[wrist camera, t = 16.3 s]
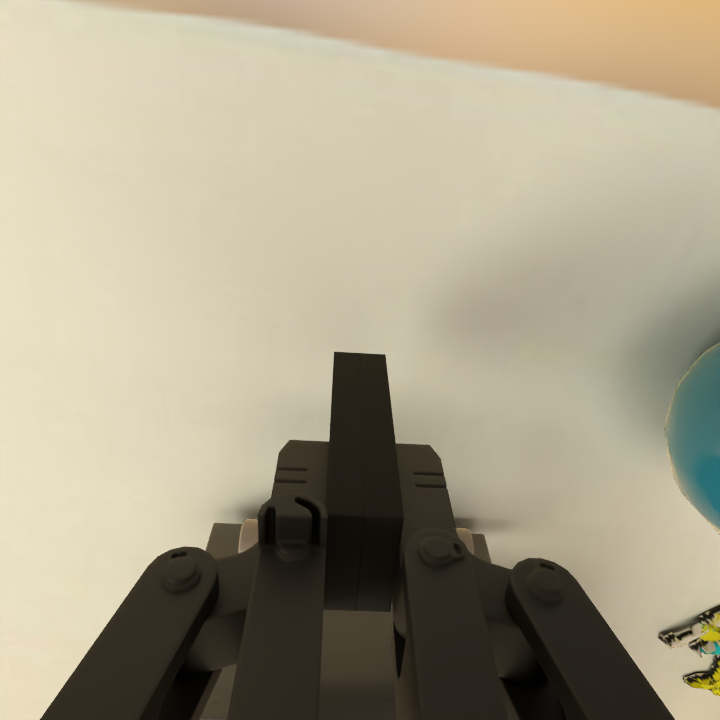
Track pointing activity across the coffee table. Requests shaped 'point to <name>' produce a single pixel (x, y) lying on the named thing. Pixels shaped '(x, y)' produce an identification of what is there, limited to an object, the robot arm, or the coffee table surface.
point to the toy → (701, 648)
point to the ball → (697, 435)
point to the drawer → (333, 645)
